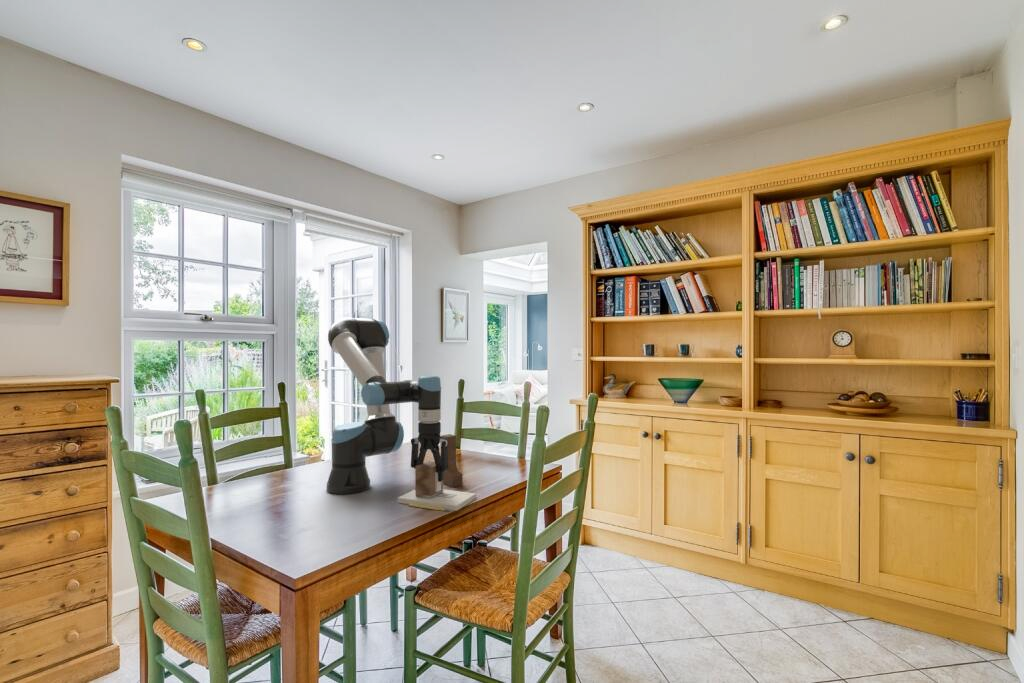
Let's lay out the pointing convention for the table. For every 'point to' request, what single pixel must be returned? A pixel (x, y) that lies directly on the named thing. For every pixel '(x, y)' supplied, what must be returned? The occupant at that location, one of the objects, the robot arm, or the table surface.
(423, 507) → the pencil
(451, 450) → the wooden block
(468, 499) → the board
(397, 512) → the table surface
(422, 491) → the block
